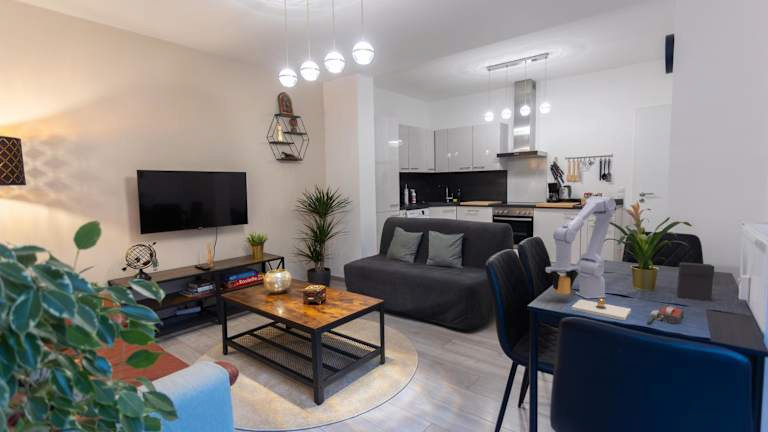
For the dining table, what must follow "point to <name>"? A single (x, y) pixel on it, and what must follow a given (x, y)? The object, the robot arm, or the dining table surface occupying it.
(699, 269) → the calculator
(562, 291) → the cap
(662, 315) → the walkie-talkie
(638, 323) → the dining table surface
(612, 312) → the plate
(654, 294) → the dining table surface
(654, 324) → the dining table surface
